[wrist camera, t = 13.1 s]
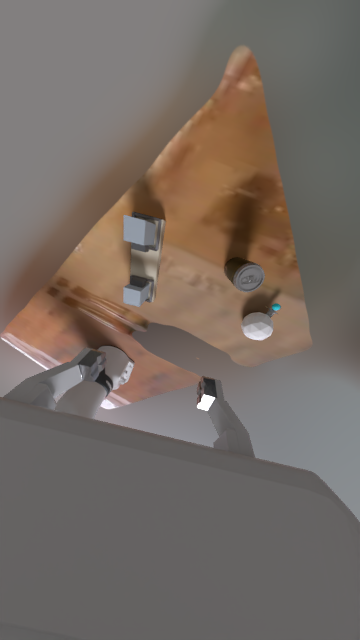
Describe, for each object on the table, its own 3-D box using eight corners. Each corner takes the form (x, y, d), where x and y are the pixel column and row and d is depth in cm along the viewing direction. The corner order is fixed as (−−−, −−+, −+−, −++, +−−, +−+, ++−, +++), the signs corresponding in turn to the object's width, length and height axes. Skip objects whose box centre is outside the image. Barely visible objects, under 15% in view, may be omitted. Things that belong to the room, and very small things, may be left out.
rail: (155, 298, 42) (152, 302, 39) (133, 293, 42) (128, 296, 39) (165, 221, 32) (162, 219, 29) (136, 213, 32) (130, 210, 29)
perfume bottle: (230, 326, 40) (261, 291, 35) (242, 329, 45) (269, 300, 41) (252, 345, 35) (290, 308, 30) (261, 346, 40) (295, 315, 36)
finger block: (153, 251, 33) (143, 253, 27) (137, 247, 33) (123, 248, 27) (155, 224, 30) (145, 220, 24) (138, 220, 30) (123, 214, 24)
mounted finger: (148, 296, 39) (139, 306, 33) (134, 293, 39) (123, 302, 33) (150, 278, 36) (141, 285, 30) (135, 274, 36) (123, 280, 30)
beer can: (225, 281, 37) (236, 296, 27) (222, 261, 35) (232, 269, 24) (246, 275, 36) (266, 288, 25) (244, 253, 33) (265, 259, 23)
